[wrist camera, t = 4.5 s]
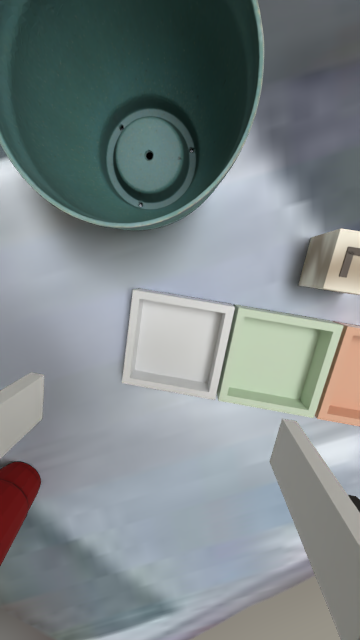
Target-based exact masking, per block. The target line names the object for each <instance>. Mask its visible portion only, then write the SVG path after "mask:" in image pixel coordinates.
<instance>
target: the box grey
mask: <svg viewBox="0 0 360 640" xmlns="http://www.w3.org/2000/svg"><path fill="white" fill-rule="evenodd" d="M234 310H235V307H234V306H233V305H232V304H229V303H223V302H217V301H211V300H205V299H200V298H194V297H188V296H182V295H176V294H170V293H164V292H158V291H152V290H147V289H141V288H138V289H134V290H133V294H132V302H131V311H130V319H129V328H128V336H127V344H126V353H125V361H124V370H123V378H122V383H124V384H130V385H135V386H141V387H146V388H152V389H157V390H163V391H168V392H174V393H179V394H185V395H190V396H196V397H201V398H207V399H212V400H215V397H216V393H217V388H218V384H219V379H220V374H221V370H222V365H223V361H224V356H225V351H226V347H227V342H228V337H229V333H230V328H231V324H232V319H233V314H234Z"/></svg>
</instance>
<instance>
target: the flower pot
mask: <svg viewBox="0 0 360 640" xmlns="http://www.w3.org/2000/svg"><path fill="white" fill-rule="evenodd" d="M263 69H264V36H263V28H262V22H261V15H260V9H259V5H258V1H257V0H0V144H1V146H2V148H3V149H4V151H5V153H6V154H7V156H8V158H9V159H10V161H11V162H12V164H13V165H14V167H15V168H16V169H17V171H18V172H19V173H20V174H21V176H22V177H23V178H24V179H25V180H26V181H27V183H28V184H29V185H30V186H31V187H32V188H33V189H34V190H35V191H36V192H37V193H39V194H40V195H41V196H42V197H43V198H44V199H46V200H47V201H48V202H49V203H51V204H52V205H54V206H55V207H57V208H58V209H60V210H62V211H63V212H65V213H67V214H69V215H71V216H73V217H75V218H78V219H80V220H83V221H86V222H89V223H92V224H95V225H99V226H103V227H109V228H116V229H124V230H149V229H155V228H160V227H163V226H166V225H169V224H172V223H174V222H176V221H178V220H180V219H182V218H184V217H185V216H187V215H188V214H190V213H191V212H193V211H194V210H195V209H196V208H198V207H199V206H200V205H201V204H202V203H203V202H204V201H205V200H206V199H207V198H208V197H209V196H210V195H211V194H212V193H213V191H214V190H215V189H216V187H217V186H218V185H219V183H220V182H221V181H222V180H223V178H224V177H225V176H226V174H227V173H228V171H229V170H230V169H231V167H232V166H233V164H234V162H235V161H236V159H237V157H238V155H239V153H240V152H241V149H242V148H243V146H244V144H245V141H246V139H247V137H248V134H249V132H250V130H251V127H252V124H253V121H254V118H255V115H256V112H257V108H258V103H259V99H260V94H261V89H262V80H263ZM121 126H123V127H124V129H123V130H122V131H121V130H120V128H121ZM190 149H193V150H194V151H193V152H192V153H191V152H190ZM148 152H151V153H152V154H153V158H152V159H150V160H148V159H147V158H146V154H147V153H148ZM140 203H142V205H143V206H142V207H140V206H139V204H140Z"/></svg>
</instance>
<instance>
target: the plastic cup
mask: <svg viewBox="0 0 360 640" xmlns="http://www.w3.org/2000/svg"><path fill="white" fill-rule="evenodd" d="M40 484H41V480H40V476H39V474H38V473H37V471H36V470H35V469H34V468H33V467H31V466H30V465H28V464H26V463H23V462H13V463H11V464H8V465H7V466H5V467H3V468H2V469H1V470H0V566H1V564H2V562H3V560H4V558H5V556H6V554H7V552H8V550H9V548H10V547H11V545H12V543H13V541H14V539H15V537H16V535H17V533H18V531H19V529H20V527H21V525H22V523H23V521H24V520H25V518H26V516H27V513H28V510H29V508H30V506H31V505H32V503H33V501H34V499H35V497H36V495H37V493H38V490H39V488H40Z"/></svg>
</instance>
